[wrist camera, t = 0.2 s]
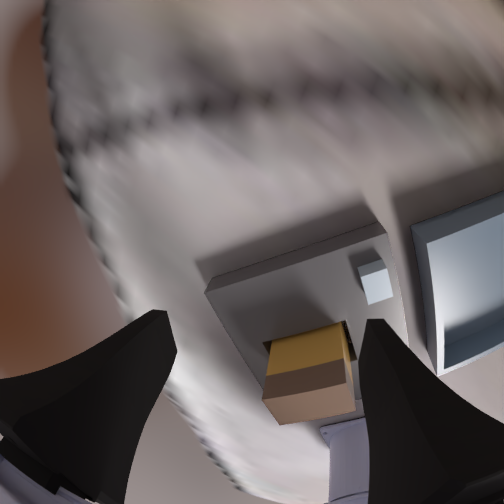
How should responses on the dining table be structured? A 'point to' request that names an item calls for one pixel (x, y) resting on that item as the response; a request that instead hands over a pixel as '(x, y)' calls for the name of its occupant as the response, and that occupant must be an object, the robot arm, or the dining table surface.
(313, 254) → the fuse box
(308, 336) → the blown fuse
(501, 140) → the dining table surface
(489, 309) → the parts tray
